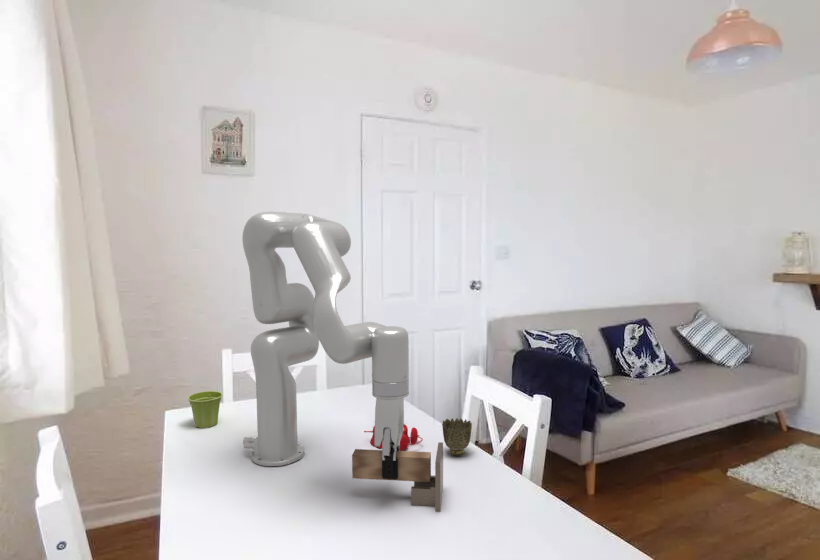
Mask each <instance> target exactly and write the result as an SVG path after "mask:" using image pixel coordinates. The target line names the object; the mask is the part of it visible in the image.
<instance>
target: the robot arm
mask: <svg viewBox="0 0 820 560" xmlns="http://www.w3.org/2000/svg"><path fill="white" fill-rule="evenodd" d="M242 231H243V232H242V235H241V236H242V248H243V252H244V255H245V257H246V261H247V262H246V263H247V265H248V268H249V269H248V270H249V279H250V280H249V282H250V290H251V299H252V309H253V313H254V317H255V319H256V321H258V322H259V323H260V324H263V325H273V324H274V325H275V324H281V323H287V322H288V325H289V326H287V327H286V326H285V327H280V328H276V329H275V328H274V329H268V330H266V331H263V332H261V333H258V335H257V336H255V337H254V338H253V340H252V342H251V345H250V356H251V360H252V365H253V370H254V376H255V390H256V391H255V393H256V421H257V422H256V423H257V424H256V425H257V436H256V437H247V436H246V437H244V438H243V440H242V446H243V449H252V450H253V451H252V453H251V460H252V462H253V463H255V464H257V465H259V466H264V467H279V466H286V465H289V464H292V463H294V462H295V463H296V462H297V461H298V460H300V459H302V458H303V456H304V455H305V448H304V446H303V445H301V444H300V443H298V411H297V409H298V407H297V399H298V398H297V384H296V380H295V378H294V376H293V375H292V372H291V371H290V369H289V367H291V366H294V365H297V364H298V365H299V364H302V363H305V362H308V361H310V360H312V359H314V358H315V357H316V355H317V354H318V351H319V347H320V344H321V346H322V349H323V350H324V352H325V354H326V355H327V356H328V357H329V358H330V359H331V360H332V361H333V362H334V363H336V364H341V365H346V364H349V363H354V362H358V361H361V360H365V359H370V358H371V382H372V383H371V384H372V385H371V386H372V389H371V390H372V392H371V394H372V396H373V397H374V398H376V400H375V411H374V426H375V434H374V445H375V446H374V447H375V448H377V447H378V446H380V444H381V442H382V449H381V450H382V478H383V479H397V478H398V459H396V451H400V440H401V437H402V434H403V428H404V424H405V398H406V397H408V396H409V395H410V373H409V372H410V371H409V369H410V368H409V367H410V365H409V363H410V357H409V355H410V354H409V348H410V347H409V346H410V345H409V344H410V343H409V333H408V331H407V329H406V328H404V327H401V326H396V325H395V326H391V325H390V326H389V325H388V326H387V325H384V324H381V323H378V322H374V321H365V322H360V323H353V324H348V325H344V322H343V321H342V319H341V317H340V315H339V312H338V309H337V303H336V301H337V300H336V299H337V295H338V293H340V292H341V291H343V290H344V289H345V288H346V287H347V286H348V285H349V284H350V281H351V279H352V278H351V274H350V272H349V269H348V268H347V265H346V264H345V262H344V260H343V257H344V256H346V255H347V254H348V253H349V251H350V250H351V246H352V240H351V235H350V233H349V231H348V229H346V227H345V226H344V225H342V224H341V223H339V222H338V221H333V220H330V219H326V218H322V217H320V216H316V215H313V214H310V213H301V212H297V213H296V212H285V211H284V212H283V211H265V212H264V211H263V212H260V213H259V212H258V213H256V214H253V215H252V216H251V217H250V218H249V219H248V220H247V221H246V222H245V225H244V226H243V230H242ZM277 248H278V249H280V248H283V249H284V248H286V249H287V248H288V249H289V248H293V249H294V251H295V253H296V255H297V257H298V259H299V262H300V263H301V265H302V267H303V270H304V272H305V273H306V276H307V278H308V279H309V282H310V284H311V286H312V288H313V290H314V293H315V294H313V293H312V290H311V289H310V288H309V287H308V286H307V285H305V284H303V283H299V282H293V283H292V282H291V283H288V280H287V273H286V272H287V271H286V266H285V264H284V263H285V262H284V261H283V259H282V257H281V256H280V254H279V253H278V252H277V251H276V249H277Z"/></svg>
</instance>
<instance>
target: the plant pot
mask: <svg viewBox="0 0 820 560" xmlns="http://www.w3.org/2000/svg"><path fill="white" fill-rule="evenodd" d="M223 396H224V395H223V393H222V392H221V391H218V390H217V391H216V390H206V391H199V392H195V393H193V394H191V395H189V396H187V400H188V402H189V404H190V407H191V412H192V416H193V422H194V427H196V428H200V429H209V428H212V427H213V426H216V425H218V421H219V412H220V405H221V403H220V402H221V401H222V397H223Z"/></svg>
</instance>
